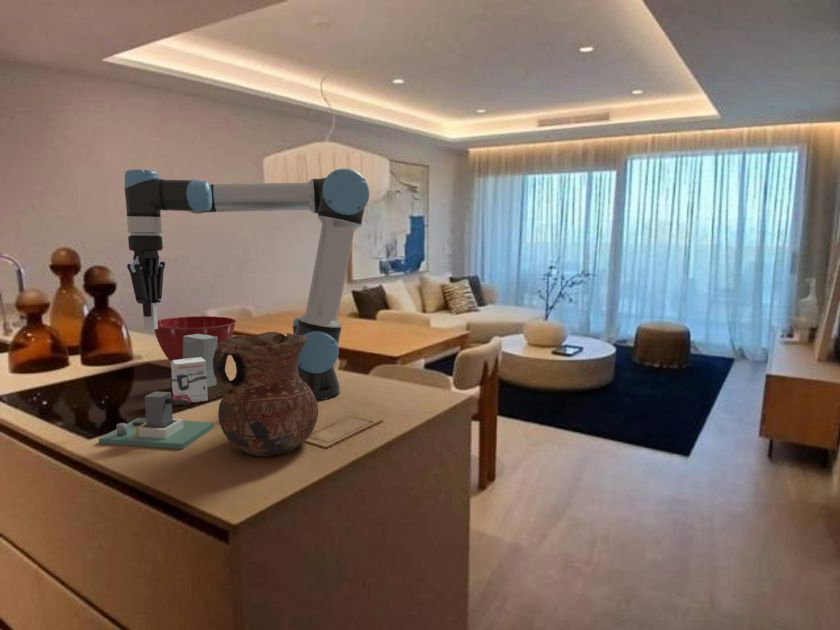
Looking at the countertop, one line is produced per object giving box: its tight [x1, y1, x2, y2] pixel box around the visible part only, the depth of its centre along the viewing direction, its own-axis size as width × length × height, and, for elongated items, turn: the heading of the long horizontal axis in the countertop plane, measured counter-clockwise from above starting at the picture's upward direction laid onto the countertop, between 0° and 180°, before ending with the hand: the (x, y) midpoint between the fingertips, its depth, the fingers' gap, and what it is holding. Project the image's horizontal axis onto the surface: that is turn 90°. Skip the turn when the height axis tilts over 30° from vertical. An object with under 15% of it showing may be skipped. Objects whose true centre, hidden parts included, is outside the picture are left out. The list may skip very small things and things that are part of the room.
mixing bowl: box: [153, 315, 237, 362], centre depth 198 cm, size 28×28×15 cm
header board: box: [98, 417, 215, 450], centre depth 128 cm, size 20×14×4 cm
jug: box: [213, 331, 319, 457], centre depth 121 cm, size 22×21×25 cm
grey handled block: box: [144, 391, 191, 428], centre depth 126 cm, size 10×4×9 cm, turn 83°
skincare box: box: [183, 334, 218, 389], centre depth 169 cm, size 8×7×16 cm
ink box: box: [170, 357, 209, 406], centre depth 154 cm, size 8×5×12 cm, turn 123°
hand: (151, 328), depth 138 cm, fingers closed
